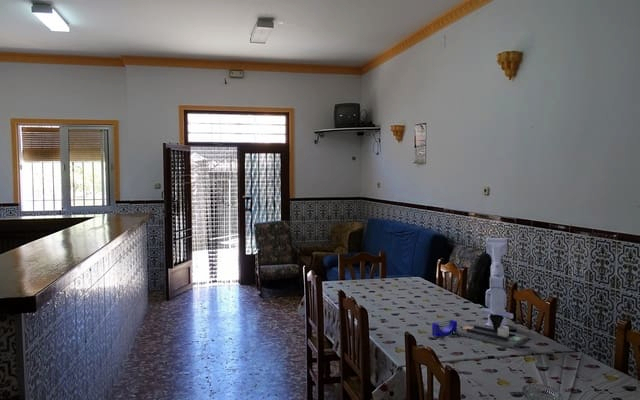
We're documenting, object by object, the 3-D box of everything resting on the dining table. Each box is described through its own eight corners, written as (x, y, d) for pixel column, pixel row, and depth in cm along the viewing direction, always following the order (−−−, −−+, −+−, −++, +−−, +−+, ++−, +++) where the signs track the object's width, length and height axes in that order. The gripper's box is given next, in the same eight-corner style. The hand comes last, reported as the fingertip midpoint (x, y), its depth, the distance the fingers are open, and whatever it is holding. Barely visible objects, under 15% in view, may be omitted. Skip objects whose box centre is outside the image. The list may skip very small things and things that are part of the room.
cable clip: (450, 330, 242) (450, 318, 242) (456, 333, 238) (456, 321, 238) (430, 334, 237) (430, 322, 237) (436, 337, 233) (436, 324, 233)
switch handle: (502, 334, 231) (502, 325, 231) (508, 335, 229) (508, 327, 229) (497, 336, 228) (497, 328, 227) (503, 338, 226) (504, 329, 225)
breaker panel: (471, 326, 248) (471, 321, 248) (527, 339, 229) (527, 333, 229) (454, 334, 237) (454, 328, 237) (512, 348, 217) (512, 342, 217)
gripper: (478, 300, 232) (477, 329, 233) (508, 306, 222) (508, 336, 223) (485, 297, 237) (484, 326, 238) (515, 303, 227) (514, 332, 228)
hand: (496, 330), depth 231 cm, fingers closed
